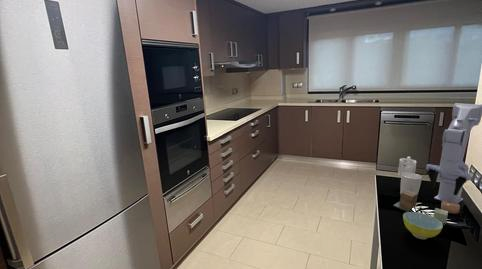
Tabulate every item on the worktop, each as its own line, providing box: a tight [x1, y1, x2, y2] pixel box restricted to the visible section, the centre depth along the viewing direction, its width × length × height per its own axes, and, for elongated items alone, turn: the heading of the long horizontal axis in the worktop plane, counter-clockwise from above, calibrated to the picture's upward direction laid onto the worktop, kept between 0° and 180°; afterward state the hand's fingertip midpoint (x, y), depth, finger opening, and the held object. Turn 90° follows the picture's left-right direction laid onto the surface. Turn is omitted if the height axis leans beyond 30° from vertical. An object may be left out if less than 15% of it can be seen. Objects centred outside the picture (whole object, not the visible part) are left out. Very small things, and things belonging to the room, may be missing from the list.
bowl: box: [402, 211, 444, 240], centre depth 91 cm, size 11×12×6 cm
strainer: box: [397, 156, 417, 178], centre depth 130 cm, size 7×7×15 cm
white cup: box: [399, 172, 423, 195], centre depth 121 cm, size 8×8×10 cm
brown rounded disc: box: [440, 200, 461, 215], centre depth 109 cm, size 6×6×3 cm
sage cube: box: [433, 207, 449, 225], centre depth 101 cm, size 4×4×4 cm
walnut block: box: [399, 190, 419, 209], centre depth 110 cm, size 4×4×6 cm
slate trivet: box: [393, 201, 410, 212], centre depth 111 cm, size 8×8×1 cm
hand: (444, 190), depth 105 cm, fingers open, 7 cm apart
